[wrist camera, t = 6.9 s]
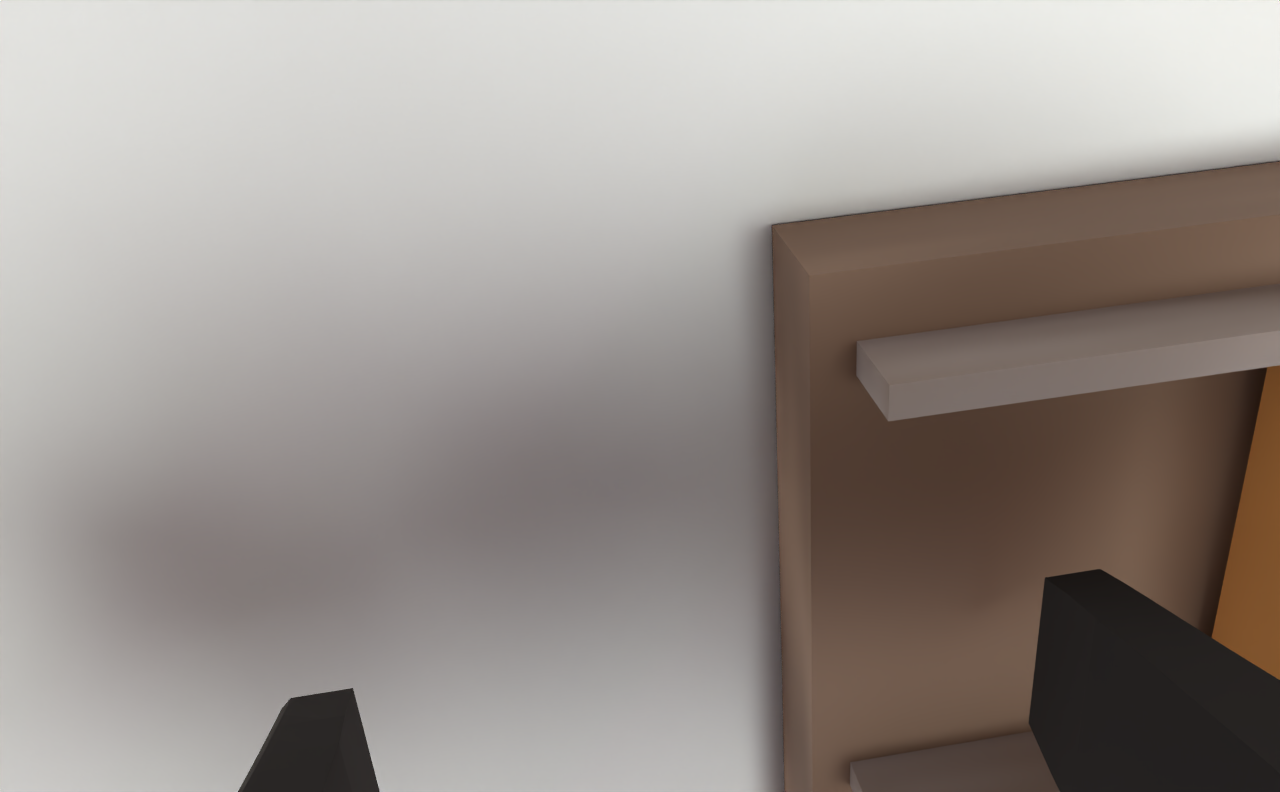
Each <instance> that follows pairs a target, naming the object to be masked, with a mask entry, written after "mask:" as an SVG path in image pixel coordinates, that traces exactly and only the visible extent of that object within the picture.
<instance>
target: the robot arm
mask: <svg viewBox="0 0 1280 792" xmlns="http://www.w3.org/2000/svg"><path fill="white" fill-rule="evenodd" d="M1028 723H1029V725H1030V727H1031V730H1032V732H1033V734H1034V736H1035V739H1036V741H1037V743H1038V745H1039V748H1040V750H1041V752H1042V754H1043V757H1044V759H1045V761H1046V763H1047V766H1048V768H1049V770H1050V772H1051V774H1052V776H1053V779H1054V781H1055V783H1056V785H1057V787H1058V789H1059V791H1060V792H1280V680H1279V679H1277V678H1276V677H1274V676H1272V675H1271V674H1269V673H1267V672H1266V671H1264V670H1263V669H1261V668H1259V667H1258V666H1256V665H1254V664H1253V663H1251V662H1249V661H1248V660H1246V659H1245V658H1243V657H1241V656H1240V655H1238V654H1237V653H1235V652H1233V651H1232V650H1230V649H1229V648H1227V647H1225V646H1224V645H1222V644H1221V643H1219V642H1217V641H1216V640H1214V639H1213V638H1211V637H1209V636H1208V635H1206V634H1205V633H1203V632H1202V631H1200V630H1198V629H1197V628H1195V627H1194V626H1192V625H1190V624H1189V623H1187V622H1186V621H1184V620H1183V619H1181V618H1179V617H1178V616H1176V615H1175V614H1173V613H1172V612H1170V611H1168V610H1167V609H1165V608H1164V607H1162V606H1160V605H1159V604H1157V603H1156V602H1154V601H1153V600H1151V599H1149V598H1148V597H1146V596H1145V595H1143V594H1141V593H1140V592H1138V591H1137V590H1135V589H1133V588H1132V587H1130V586H1128V585H1127V584H1125V583H1124V582H1122V581H1120V580H1119V579H1117V578H1115V577H1113V576H1112V575H1110V574H1108V573H1107V572H1105V571H1103V570H1101V569H1095V570H1089V571H1083V572H1077V573H1070V574H1064V575H1058V576H1052V577H1045V580H1044V589H1043V598H1042V607H1041V616H1040V625H1039V634H1038V642H1037V651H1036V660H1035V669H1034V678H1033V687H1032V696H1031V705H1030V714H1029V722H1028ZM238 792H379V788H378V784H377V780H376V776H375V772H374V768H373V765H372V761H371V757H370V753H369V749H368V745H367V741H366V737H365V734H364V730H363V726H362V722H361V718H360V714H359V710H358V707H357V703H356V699H355V695H354V691H353V688H351V689H345V690H339V691H332V692H326V693H320V694H314V695H307V696H301V697H295V698H291V699H290V700H289V701H288V702H287V703H286V704H285V706H284V707H283V708H282V709H281V711H280V713H279V715H278V717H277V719H276V721H275V723H274V725H273V727H272V729H271V731H270V733H269V735H268V737H267V739H266V741H265V743H264V744H263V746H262V748H261V750H260V752H259V754H258V756H257V758H256V760H255V762H254V763H253V765H252V767H251V769H250V771H249V773H248V775H247V776H246V778H245V780H244V782H243V784H242V785H241V787H240V789H239V791H238Z"/></svg>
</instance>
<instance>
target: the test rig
mask: <svg viewBox="0 0 1280 792" xmlns="http://www.w3.org/2000/svg"><path fill="white" fill-rule="evenodd" d="M772 247H773V292H774V337H775V382H776V428H777V473H778V518H779V563H780V608H781V653H782V698H783V744H784V789H785V792H1060V791H1059V789H1058V787H1057V785H1056V783H1055V781H1054V779H1053V776H1052V774H1051V772H1050V770H1049V768H1048V766H1047V763H1046V761H1045V759H1044V757H1043V754H1042V752H1041V750H1040V748H1039V745H1038V743H1037V741H1036V739H1035V736H1034V734H1033V732H1032V730H1031V727H1030V725H1029V723H1028V722H1029V714H1030V705H1031V696H1032V687H1033V678H1034V669H1035V660H1036V651H1037V642H1038V634H1039V625H1040V616H1041V607H1042V598H1043V589H1044V580H1045V577H1052V576H1058V575H1064V574H1070V573H1077V572H1083V571H1089V570H1095V569H1101V570H1103V571H1105V572H1107V573H1108V574H1110V575H1112V576H1113V577H1115V578H1117V579H1119V580H1120V581H1122V582H1124V583H1125V584H1127V585H1128V586H1130V587H1132V588H1133V589H1135V590H1137V591H1138V592H1140V593H1141V594H1143V595H1145V596H1146V597H1148V598H1149V599H1151V600H1153V601H1154V602H1156V603H1157V604H1159V605H1160V606H1162V607H1164V608H1165V609H1167V610H1168V611H1170V612H1172V613H1173V614H1175V615H1176V616H1178V617H1179V618H1181V619H1183V620H1184V621H1186V622H1187V623H1189V624H1190V625H1192V626H1194V627H1195V628H1197V629H1198V630H1200V631H1202V632H1203V633H1205V634H1206V635H1208V636H1209V637H1211V638H1212V633H1213V629H1214V624H1215V619H1216V614H1217V609H1218V604H1219V599H1220V595H1221V590H1222V585H1223V580H1224V575H1225V570H1226V566H1227V561H1228V556H1229V551H1230V546H1231V541H1232V536H1233V532H1234V527H1235V522H1236V517H1237V512H1238V507H1239V503H1240V498H1241V493H1242V488H1243V483H1244V478H1245V474H1246V469H1247V464H1248V459H1249V454H1250V449H1251V444H1252V440H1253V435H1254V430H1255V425H1256V420H1257V415H1258V411H1259V406H1260V401H1261V396H1262V391H1263V386H1264V381H1265V377H1266V372H1267V367H1271V366H1278V365H1280V162H1273V163H1265V164H1257V165H1249V166H1241V167H1233V168H1225V169H1217V170H1209V171H1201V172H1193V173H1185V174H1177V175H1169V176H1161V177H1153V178H1145V179H1137V180H1129V181H1121V182H1113V183H1105V184H1097V185H1089V186H1081V187H1073V188H1065V189H1058V190H1050V191H1042V192H1034V193H1026V194H1018V195H1010V196H1002V197H994V198H986V199H978V200H970V201H962V202H954V203H946V204H938V205H930V206H922V207H914V208H906V209H898V210H890V211H882V212H874V213H866V214H858V215H850V216H842V217H834V218H827V219H819V220H811V221H803V222H795V223H787V224H779V225H772Z"/></svg>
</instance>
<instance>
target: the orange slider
mask: <svg viewBox="0 0 1280 792" xmlns="http://www.w3.org/2000/svg"><path fill="white" fill-rule="evenodd" d="M1212 638H1213V639H1214V640H1216V641H1217V642H1219V643H1221V644H1222V645H1224V646H1225V647H1227V648H1229V649H1230V650H1232V651H1233V652H1235V653H1237V654H1238V655H1240V656H1241V657H1243V658H1245V659H1246V660H1248V661H1249V662H1251V663H1253V664H1254V665H1256V666H1258V667H1259V668H1261V669H1263V670H1264V671H1266V672H1267V673H1269V674H1271V675H1272V676H1274V677H1276V678H1277V679H1279V680H1280V365H1278V366H1271V367H1267V372H1266V377H1265V381H1264V386H1263V391H1262V396H1261V401H1260V406H1259V411H1258V415H1257V420H1256V425H1255V430H1254V435H1253V440H1252V444H1251V449H1250V454H1249V459H1248V464H1247V469H1246V474H1245V478H1244V483H1243V488H1242V493H1241V498H1240V503H1239V507H1238V512H1237V517H1236V522H1235V527H1234V532H1233V536H1232V541H1231V546H1230V551H1229V556H1228V561H1227V566H1226V570H1225V575H1224V580H1223V585H1222V590H1221V595H1220V599H1219V604H1218V609H1217V614H1216V619H1215V624H1214V629H1213V633H1212Z"/></svg>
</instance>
